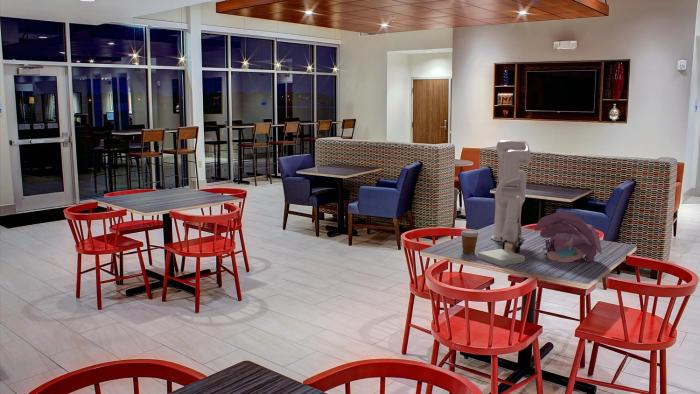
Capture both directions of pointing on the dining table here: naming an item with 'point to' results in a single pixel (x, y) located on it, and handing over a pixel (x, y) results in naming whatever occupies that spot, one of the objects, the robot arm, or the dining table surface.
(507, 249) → the maple block
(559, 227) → the purple clam shell
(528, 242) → the dining table surface
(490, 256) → the sage stand
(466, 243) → the disposable coffee cup
